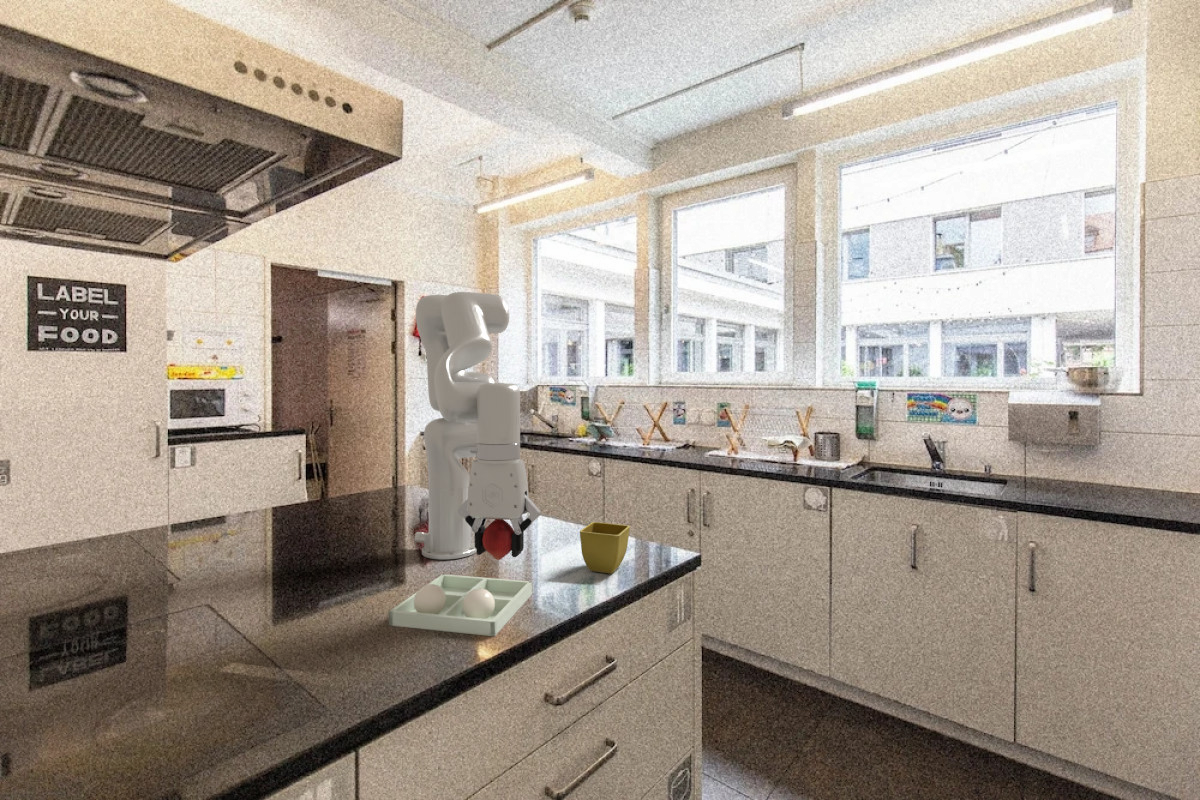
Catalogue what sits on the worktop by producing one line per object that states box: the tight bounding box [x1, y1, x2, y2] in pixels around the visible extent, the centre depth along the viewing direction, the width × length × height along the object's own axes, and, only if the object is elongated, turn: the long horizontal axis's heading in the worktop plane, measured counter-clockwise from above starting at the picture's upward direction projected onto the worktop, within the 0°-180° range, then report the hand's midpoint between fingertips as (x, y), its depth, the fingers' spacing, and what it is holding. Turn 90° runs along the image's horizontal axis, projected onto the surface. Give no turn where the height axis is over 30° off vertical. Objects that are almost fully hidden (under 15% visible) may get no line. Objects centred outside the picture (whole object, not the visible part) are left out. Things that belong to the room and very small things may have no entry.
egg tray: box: [388, 573, 533, 637], centre depth 98 cm, size 18×18×3 cm
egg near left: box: [414, 583, 446, 614], centre depth 95 cm, size 5×5×5 cm
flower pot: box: [579, 521, 631, 575], centre depth 122 cm, size 9×9×9 cm
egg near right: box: [463, 588, 495, 619], centre depth 93 cm, size 5×5×5 cm
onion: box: [482, 519, 514, 561], centre depth 101 cm, size 6×6×8 cm
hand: (499, 552), depth 101 cm, fingers closed on onion, 5 cm apart
